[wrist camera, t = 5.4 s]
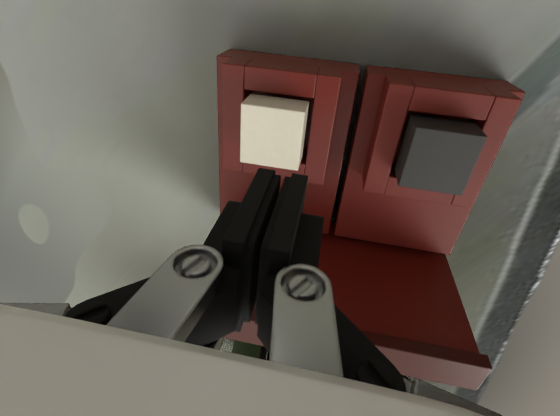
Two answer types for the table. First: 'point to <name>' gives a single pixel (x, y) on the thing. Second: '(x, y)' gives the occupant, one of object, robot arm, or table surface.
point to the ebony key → (438, 154)
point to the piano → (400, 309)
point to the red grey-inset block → (386, 146)
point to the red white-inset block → (319, 129)
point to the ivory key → (273, 131)
